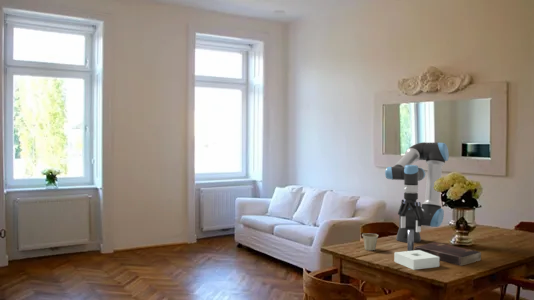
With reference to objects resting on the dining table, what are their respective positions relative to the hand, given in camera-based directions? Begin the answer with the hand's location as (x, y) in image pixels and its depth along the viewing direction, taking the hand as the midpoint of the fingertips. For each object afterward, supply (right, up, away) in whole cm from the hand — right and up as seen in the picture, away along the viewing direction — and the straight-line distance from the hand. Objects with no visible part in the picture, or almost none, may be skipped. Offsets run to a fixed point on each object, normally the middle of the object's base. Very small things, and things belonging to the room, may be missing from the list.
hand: (410, 229), depth 264 cm
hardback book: (+18, -15, -5) cm, 24 cm away
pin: (0, -14, +1) cm, 14 cm away
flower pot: (-20, -14, +12) cm, 27 cm away
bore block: (-3, -15, -20) cm, 25 cm away
